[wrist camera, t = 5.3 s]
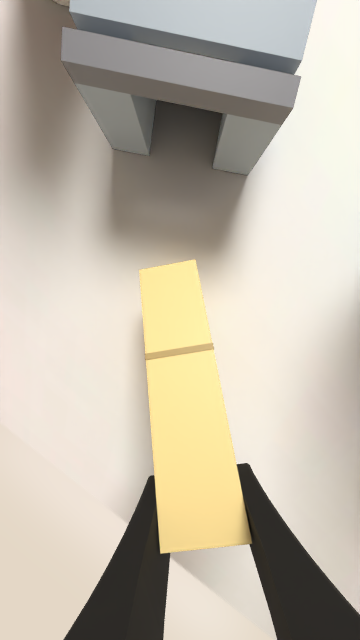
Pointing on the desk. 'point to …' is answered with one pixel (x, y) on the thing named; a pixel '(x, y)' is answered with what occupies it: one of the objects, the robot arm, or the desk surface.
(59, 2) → the soda can
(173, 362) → the stepped yellow block
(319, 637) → the robot arm
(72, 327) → the desk surface
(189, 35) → the dispenser
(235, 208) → the desk surface
